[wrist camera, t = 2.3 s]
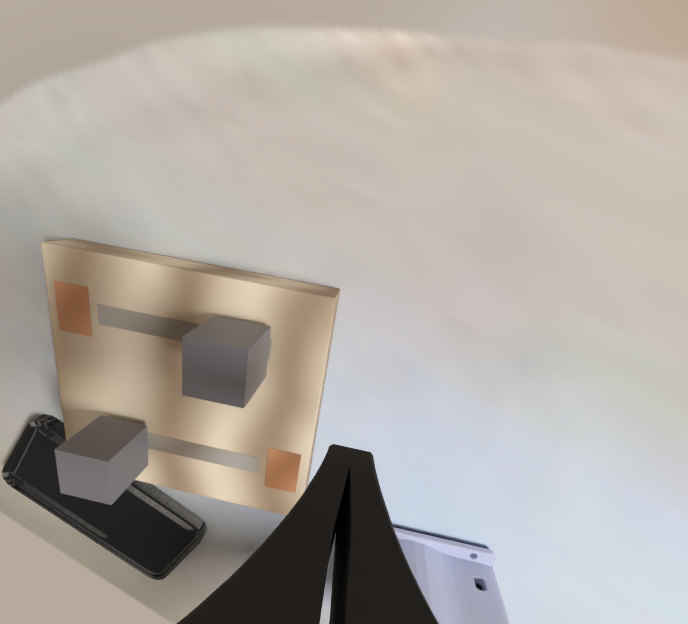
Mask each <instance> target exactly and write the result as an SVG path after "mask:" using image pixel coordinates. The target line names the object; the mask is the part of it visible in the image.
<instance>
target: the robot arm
mask: <svg viewBox="0 0 688 624" xmlns="http://www.w3.org/2000/svg"><path fill="white" fill-rule="evenodd" d="M335 533H336V539H335V553H334V567H333V581H332V596H331V610H330V622H329V624H510V623H509V620H508V616H507V613H506V610H505V606H504V603H503V600H502V596H501V593H500V590H499V586H498V583H497V580H496V577H495V573H494V570H493V565H494V563H495V560H496V558H495V555H494V552H493V551H492V550H489V549H486V548H481V547H477V546H473V545H468V544H464V543H460V542H455V541H451V540H447V539H442V538H438V537H434V536H429V535H425V534H421V533H416V532H412V531H408V530H403V529H399V528H395V527H393V525H392V523H391V520H390V517H389V514H388V511H387V508H386V505H385V502H384V499H383V496H382V493H381V489H380V486H379V482H378V478H377V474H376V470H375V465H374V459H373V455H372V454H371V452H367V451H362V450H358V449H353V448H349V447H344V446H339V445H335V444H333V445H331V446H329V449H328V452H327V454H326V456H325V458H324V460H323V462H322V464H321V466H320V468H319V469H318V471H317V473H316V475H315V476H314V478H313V479H312V481H311V482H310V484H309V485H308V487H307V489H306V490H305V492H304V493H303V494H302V496H301V497H300V499H299V500H298V501H297V503H296V504H295V505H294V507H293V508H292V509H291V511H290V512H289V513H288V515H287V516H286V517H285V518H284V520H283V521H282V522H281V523H280V524H279V526H278V527H277V528H276V529H275V530H274V532H273V533H272V534H271V535H270V536H269V537H268V538H267V540H266V541H265V542H264V543H263V544H262V545H261V546H260V547H259V548H258V549H257V550H256V551H255V552H254V553H253V555H252V556H251V557H250V558H249V559H248V560H247V561H246V562H245V563H244V564H243V565H242V566H241V567H240V568H239V569H238V570H237V571H236V572H235V573H234V574H233V575H232V576H231V577H230V578H229V579H227V580H226V581H225V582H224V583H223V584H222V585H221V586H220V587H219V588H218V589H216V590H215V591H214V592H213V593H212V594H211V595H210V596H209V597H208V598H206V599H205V600H204V601H203V602H202V603H201V604H200V605H199V606H198V607H196V608H195V609H194V610H193V611H192V612H191V613H189V614H188V615H187V616H186V617H185V618H183V619H182V620H181V621H180V622H178V623H177V624H319V622H320V615H321V608H322V601H323V594H324V587H325V581H326V574H327V567H328V562H329V558H330V554H331V550H332V546H333V542H334V538H335Z"/></svg>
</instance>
